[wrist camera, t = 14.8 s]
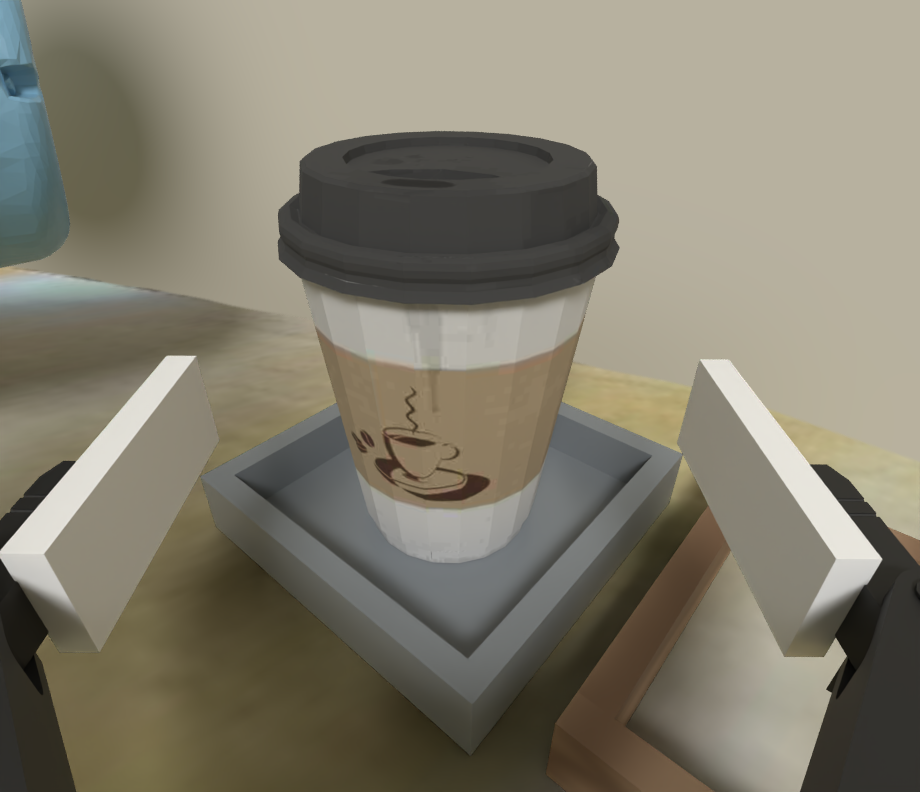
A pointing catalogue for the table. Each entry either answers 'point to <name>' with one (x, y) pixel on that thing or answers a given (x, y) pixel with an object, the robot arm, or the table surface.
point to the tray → (445, 584)
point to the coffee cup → (448, 318)
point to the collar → (641, 679)
